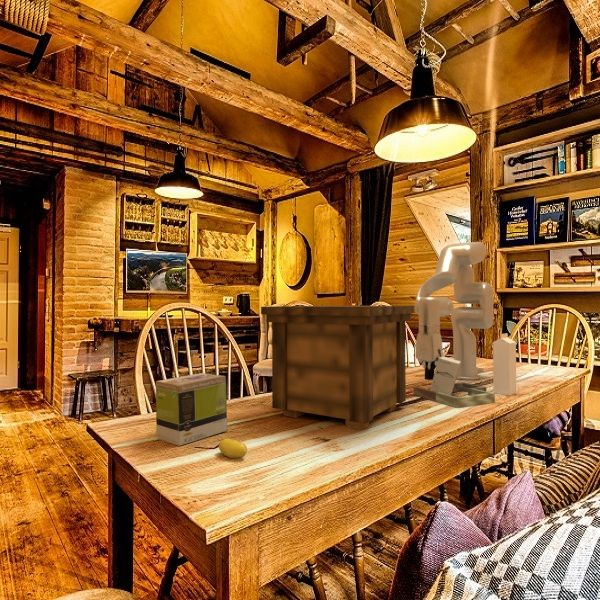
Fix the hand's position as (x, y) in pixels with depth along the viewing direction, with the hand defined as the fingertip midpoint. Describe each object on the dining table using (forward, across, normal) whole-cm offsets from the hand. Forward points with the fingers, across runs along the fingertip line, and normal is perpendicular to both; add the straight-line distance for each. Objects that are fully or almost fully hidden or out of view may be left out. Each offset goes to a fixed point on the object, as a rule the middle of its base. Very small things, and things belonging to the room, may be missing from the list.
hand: (429, 379), depth 156 cm
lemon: (+6, +32, -84) cm, 90 cm away
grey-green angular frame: (+5, +11, +4) cm, 13 cm away
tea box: (+6, +13, -89) cm, 91 cm away
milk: (+5, +12, +25) cm, 28 cm away
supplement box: (+4, +4, +2) cm, 6 cm away
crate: (+6, +9, -43) cm, 45 cm away
